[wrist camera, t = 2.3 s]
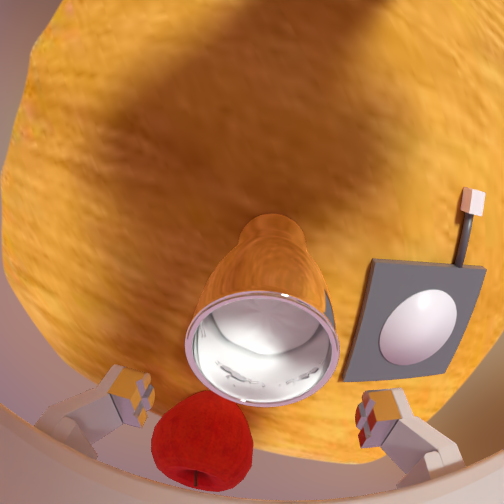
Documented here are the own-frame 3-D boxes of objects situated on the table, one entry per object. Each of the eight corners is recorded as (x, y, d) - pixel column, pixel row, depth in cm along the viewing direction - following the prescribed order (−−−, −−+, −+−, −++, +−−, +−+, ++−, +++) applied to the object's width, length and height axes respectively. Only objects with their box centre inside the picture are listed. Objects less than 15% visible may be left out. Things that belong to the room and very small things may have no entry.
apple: (171, 412, 35) (144, 484, 22) (172, 360, 31) (130, 447, 18) (249, 431, 35) (238, 508, 22) (268, 383, 31) (259, 480, 18)
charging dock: (384, 170, 22) (390, 171, 20) (496, 195, 20) (505, 198, 19) (342, 376, 29) (344, 385, 28) (441, 368, 28) (446, 376, 27)
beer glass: (245, 287, 27) (211, 414, 13) (224, 218, 25) (154, 302, 10) (317, 273, 25) (348, 398, 11) (302, 200, 23) (335, 267, 9)
